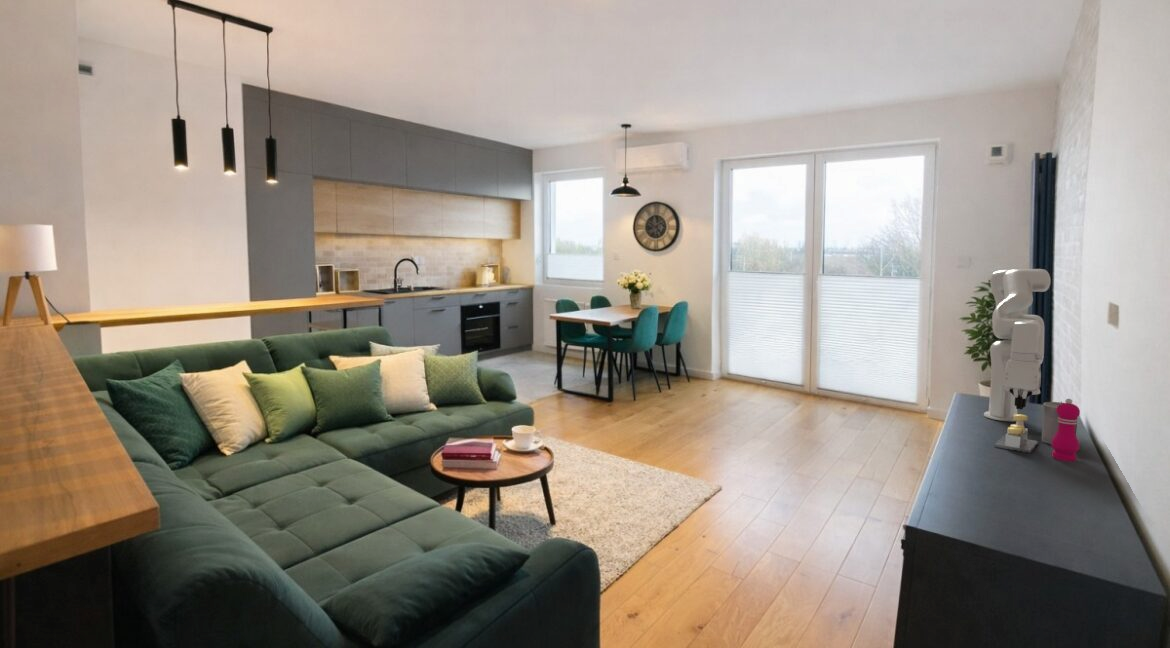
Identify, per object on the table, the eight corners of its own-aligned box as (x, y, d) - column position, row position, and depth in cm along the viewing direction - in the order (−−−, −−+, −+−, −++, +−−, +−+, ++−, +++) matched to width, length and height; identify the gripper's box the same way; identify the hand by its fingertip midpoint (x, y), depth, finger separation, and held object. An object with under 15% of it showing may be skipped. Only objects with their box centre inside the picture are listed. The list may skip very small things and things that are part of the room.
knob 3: (1007, 441, 213) (1008, 426, 212) (1021, 444, 210) (1022, 428, 209) (1005, 444, 210) (1006, 428, 209) (1019, 447, 207) (1020, 431, 207)
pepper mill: (1068, 455, 203) (1073, 396, 201) (1083, 462, 196) (1089, 401, 194) (1045, 454, 204) (1049, 396, 201) (1059, 461, 197) (1064, 401, 194)
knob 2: (1010, 439, 216) (1011, 423, 216) (1024, 441, 213) (1025, 425, 213) (1008, 441, 213) (1009, 426, 213) (1022, 444, 211) (1023, 428, 210)
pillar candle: (1076, 442, 216) (1079, 400, 215) (1074, 448, 209) (1076, 405, 208) (1042, 437, 223) (1045, 396, 221) (1039, 443, 216) (1041, 401, 214)
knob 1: (1013, 428, 219) (1014, 413, 218) (1027, 430, 216) (1028, 415, 216) (1011, 431, 216) (1012, 415, 216) (1025, 433, 213) (1026, 417, 213)
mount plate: (1003, 438, 222) (1004, 424, 221) (1037, 443, 215) (1038, 430, 214) (994, 446, 212) (995, 433, 211) (1029, 453, 205) (1030, 438, 204)
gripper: (1052, 358, 209) (1048, 410, 211) (1000, 353, 220) (997, 402, 222) (1048, 361, 204) (1044, 414, 206) (995, 356, 214) (992, 406, 217)
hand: (1019, 408), depth 214 cm, fingers closed
